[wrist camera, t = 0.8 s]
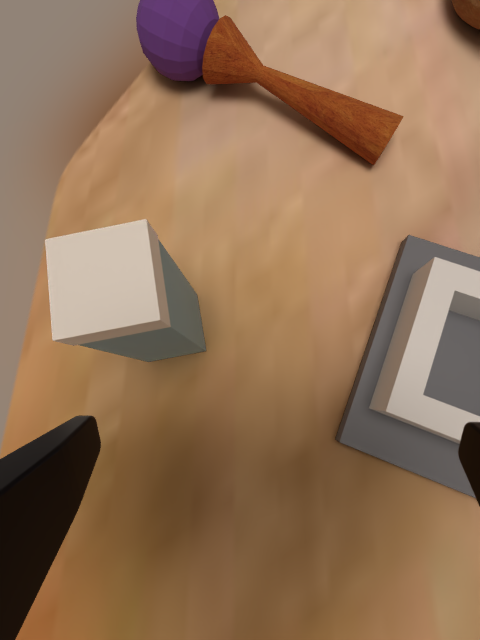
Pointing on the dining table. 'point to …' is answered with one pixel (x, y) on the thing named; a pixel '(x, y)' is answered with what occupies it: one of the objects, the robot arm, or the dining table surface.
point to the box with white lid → (121, 294)
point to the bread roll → (468, 11)
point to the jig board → (421, 366)
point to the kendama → (252, 71)
